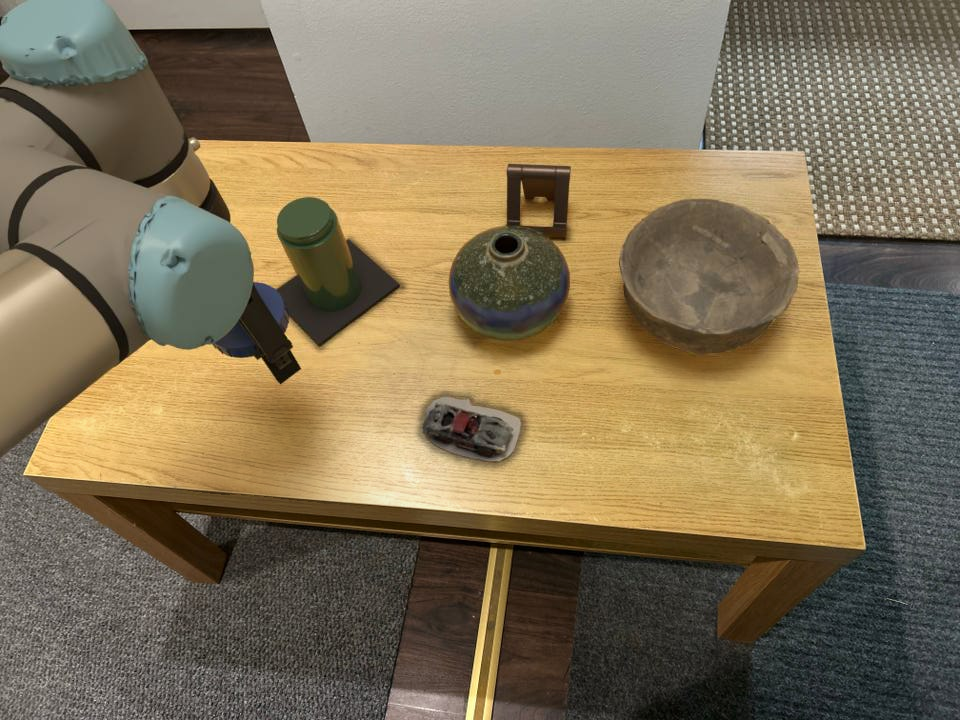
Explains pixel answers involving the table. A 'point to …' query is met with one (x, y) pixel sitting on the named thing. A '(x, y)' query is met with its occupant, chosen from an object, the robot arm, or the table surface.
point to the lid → (237, 338)
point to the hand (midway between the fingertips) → (266, 349)
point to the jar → (319, 253)
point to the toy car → (471, 429)
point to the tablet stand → (539, 193)
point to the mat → (332, 322)
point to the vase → (509, 283)
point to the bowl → (707, 275)
